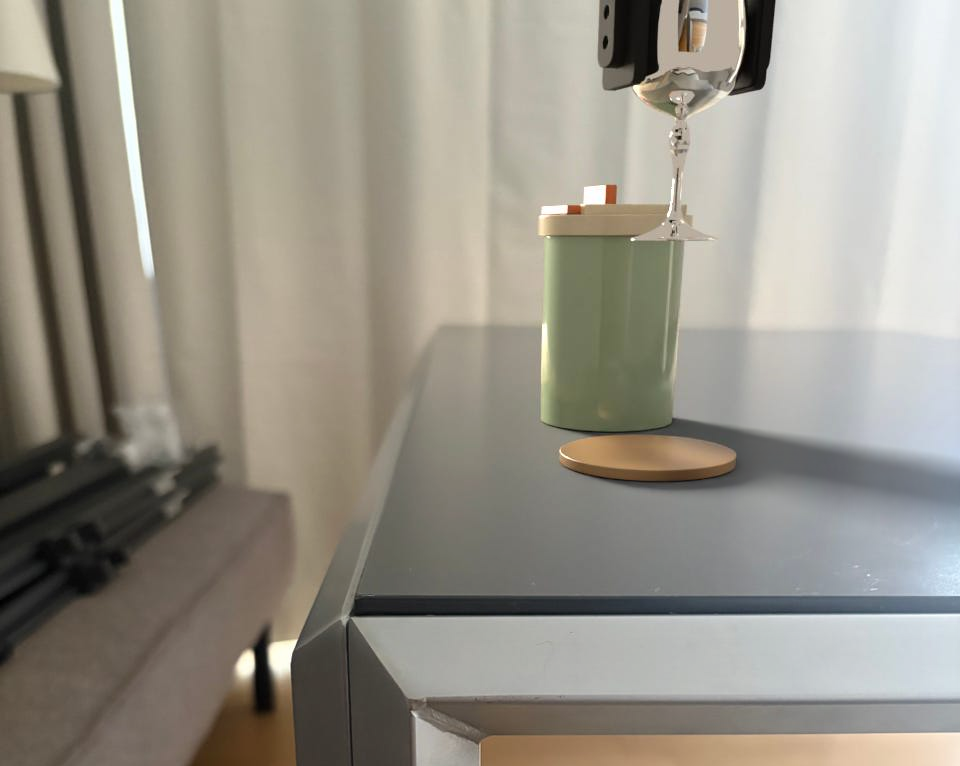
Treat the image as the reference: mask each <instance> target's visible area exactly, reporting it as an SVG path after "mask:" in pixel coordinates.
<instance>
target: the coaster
mask: <svg viewBox="0 0 960 766" xmlns="http://www.w3.org/2000/svg"><path fill="white" fill-rule="evenodd" d="M558 457H559V462H560V464H561V465H562V466H564V467H565V468H568V469H569V470H572V471H575V472H578V473H581V474H584V475H590V476H594V477H599V478H606V479H612V480H613V479H614V480H624V481H635V482H637V481H638V482H682V481H694V480H695V481H696V480H703V479H709V478H714V477H718V476H722V475H725V474H727V473H731V472H732V471H733V470H734V469H735V468H736V465H737V453H736V451H735V450H733V449H732V448H730V447H727V446H725V445H723V444H719V443H716V442H714V441H713V442H712V441H708V440H703V439H698V438H692V437H684V436H676V435H675V436H674V435H662V434H661V435H660V434H612V435H611V434H610V435H600V436H592V437H585V438H580V439H575V440H572V441H570V442H567V443H565V444H563V445H562V446H561V447H560V448H559V456H558Z"/></svg>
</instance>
